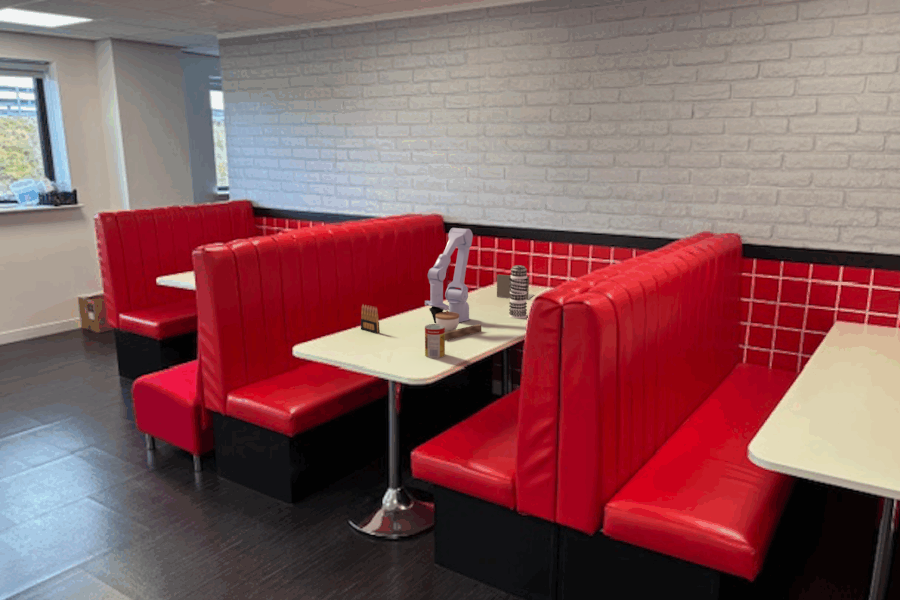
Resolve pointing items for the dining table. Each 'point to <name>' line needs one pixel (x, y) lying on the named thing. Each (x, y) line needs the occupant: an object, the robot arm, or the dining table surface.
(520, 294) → the decorative candle
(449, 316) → the lidded jar
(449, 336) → the walnut rail
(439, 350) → the canned food
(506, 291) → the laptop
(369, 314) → the ammunition clip
